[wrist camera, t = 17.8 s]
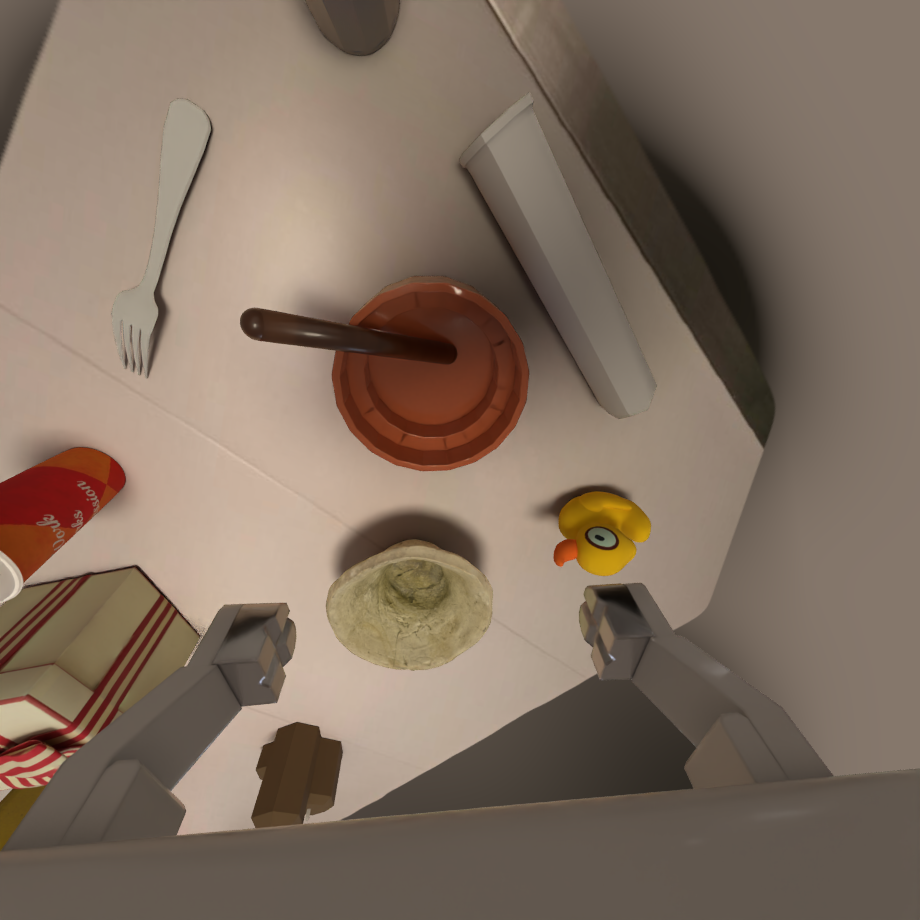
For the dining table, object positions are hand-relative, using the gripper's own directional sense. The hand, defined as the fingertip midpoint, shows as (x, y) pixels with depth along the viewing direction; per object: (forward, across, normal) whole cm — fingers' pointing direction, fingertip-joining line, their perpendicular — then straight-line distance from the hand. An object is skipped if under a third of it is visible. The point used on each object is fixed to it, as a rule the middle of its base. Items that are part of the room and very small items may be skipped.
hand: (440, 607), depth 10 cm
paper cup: (+27, +34, +12) cm, 45 cm away
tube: (+28, -12, -5) cm, 30 cm away
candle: (+27, +26, +70) cm, 79 cm away
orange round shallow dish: (+27, 0, +2) cm, 27 cm away
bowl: (+27, +3, +27) cm, 38 cm away
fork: (+27, +20, -7) cm, 35 cm away
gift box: (+27, +40, +34) cm, 59 cm away
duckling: (+27, -17, +18) cm, 37 cm away
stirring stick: (+26, -2, 0) cm, 26 cm away
